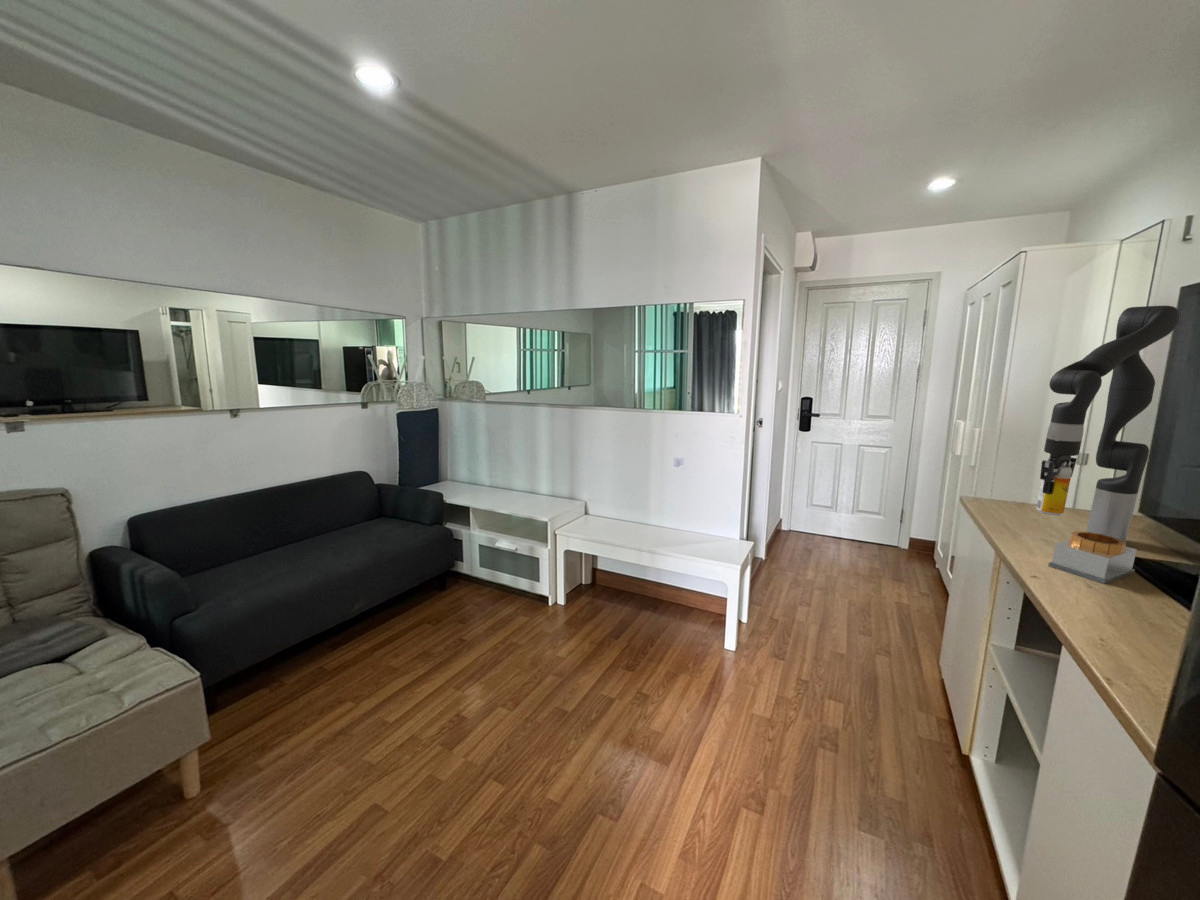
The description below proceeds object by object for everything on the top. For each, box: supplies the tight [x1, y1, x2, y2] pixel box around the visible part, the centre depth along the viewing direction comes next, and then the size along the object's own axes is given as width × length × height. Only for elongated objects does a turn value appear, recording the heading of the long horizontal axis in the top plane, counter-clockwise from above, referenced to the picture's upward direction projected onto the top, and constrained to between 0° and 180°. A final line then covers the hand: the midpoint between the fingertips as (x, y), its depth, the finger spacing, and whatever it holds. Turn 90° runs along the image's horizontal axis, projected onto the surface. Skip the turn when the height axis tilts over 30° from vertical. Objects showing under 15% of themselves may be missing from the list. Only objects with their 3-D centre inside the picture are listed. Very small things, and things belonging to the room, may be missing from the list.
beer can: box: [1035, 466, 1073, 516], centre depth 140 cm, size 6×6×15 cm
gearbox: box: [1047, 530, 1138, 585], centre depth 132 cm, size 21×12×10 cm, turn 113°
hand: (1053, 492), depth 141 cm, fingers closed on beer can, 6 cm apart
